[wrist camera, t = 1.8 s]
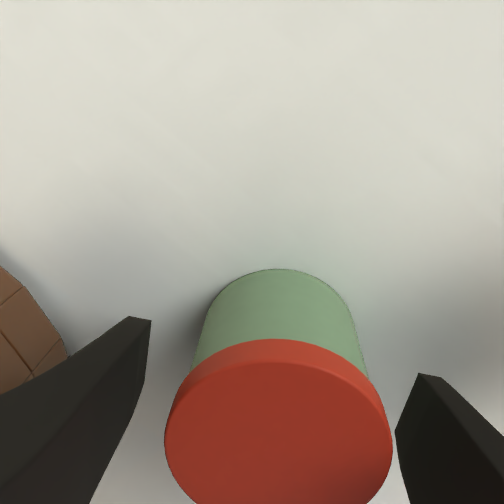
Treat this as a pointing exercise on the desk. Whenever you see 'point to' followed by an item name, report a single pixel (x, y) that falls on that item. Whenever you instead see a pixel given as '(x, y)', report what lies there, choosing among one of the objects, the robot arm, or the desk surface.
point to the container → (278, 401)
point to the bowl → (24, 336)
